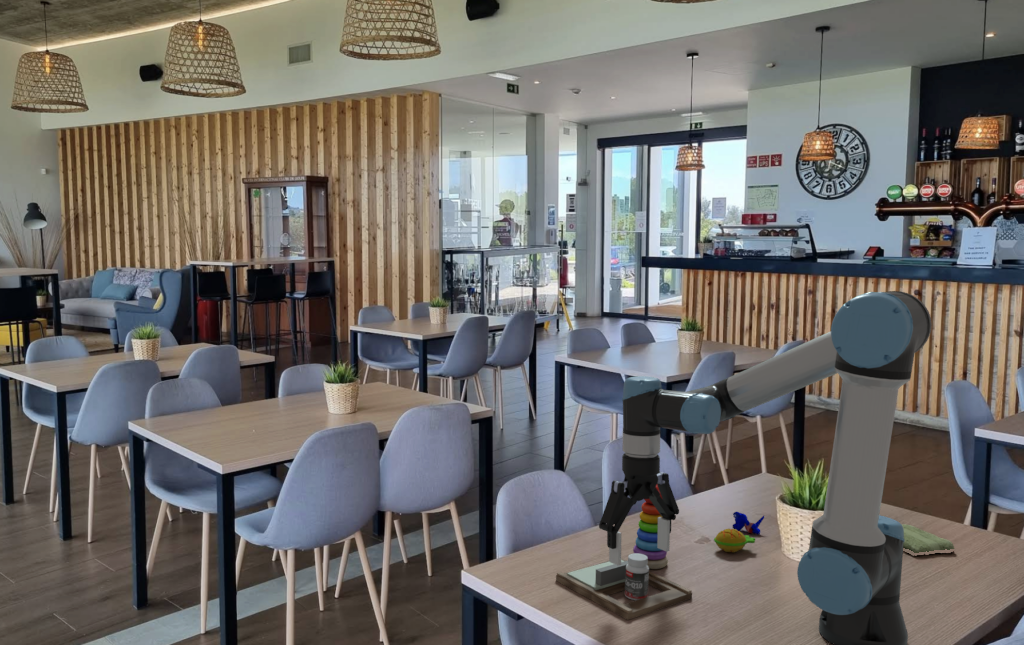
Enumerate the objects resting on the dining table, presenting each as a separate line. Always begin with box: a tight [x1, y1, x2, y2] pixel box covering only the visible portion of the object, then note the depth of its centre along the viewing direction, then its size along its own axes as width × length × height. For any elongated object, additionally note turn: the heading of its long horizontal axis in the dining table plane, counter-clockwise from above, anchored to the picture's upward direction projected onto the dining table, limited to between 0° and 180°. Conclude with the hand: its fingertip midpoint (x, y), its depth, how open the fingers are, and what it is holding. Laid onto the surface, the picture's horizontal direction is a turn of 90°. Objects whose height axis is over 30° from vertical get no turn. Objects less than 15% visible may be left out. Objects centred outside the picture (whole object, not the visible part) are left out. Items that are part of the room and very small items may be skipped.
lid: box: [567, 560, 628, 590], centre depth 174 cm, size 9×15×4 cm, turn 125°
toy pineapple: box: [713, 528, 756, 553], centre depth 194 cm, size 7×10×5 cm
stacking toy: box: [632, 485, 669, 570], centre depth 184 cm, size 8×8×19 cm
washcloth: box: [900, 523, 956, 553], centre depth 202 cm, size 13×18×3 cm
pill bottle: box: [624, 552, 650, 601], centre depth 167 cm, size 5×5×8 cm
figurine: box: [732, 511, 765, 535], centre depth 207 cm, size 5×8×5 cm, turn 64°
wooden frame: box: [555, 557, 693, 621], centre depth 170 cm, size 22×18×2 cm
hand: (639, 556), depth 166 cm, fingers open, 13 cm apart
